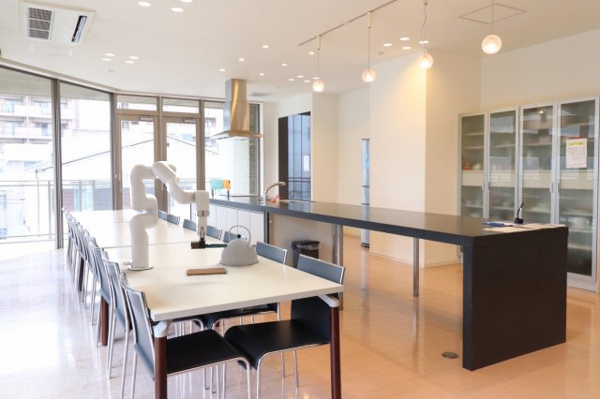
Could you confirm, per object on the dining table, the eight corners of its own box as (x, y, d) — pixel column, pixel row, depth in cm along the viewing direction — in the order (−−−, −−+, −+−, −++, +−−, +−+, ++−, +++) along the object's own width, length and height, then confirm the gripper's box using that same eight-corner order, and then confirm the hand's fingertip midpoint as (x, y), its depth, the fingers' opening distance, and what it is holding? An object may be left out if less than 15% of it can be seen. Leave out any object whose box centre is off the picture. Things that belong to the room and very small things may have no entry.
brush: (190, 249, 240) (190, 242, 240) (191, 247, 244) (190, 241, 244) (227, 248, 244) (227, 241, 244) (227, 246, 248) (227, 240, 248)
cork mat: (187, 275, 245) (187, 273, 245) (188, 270, 257) (188, 269, 256) (225, 273, 249) (225, 272, 249) (224, 269, 261) (224, 267, 261)
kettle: (268, 261, 284) (267, 225, 283) (243, 267, 265) (243, 228, 264) (237, 257, 298) (237, 222, 297) (212, 262, 280) (212, 225, 278)
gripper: (195, 212, 250) (195, 245, 251) (194, 215, 233) (194, 250, 234) (209, 212, 251) (209, 245, 252) (209, 215, 235) (209, 250, 236)
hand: (202, 247), depth 243 cm, fingers closed on brush, 4 cm apart
